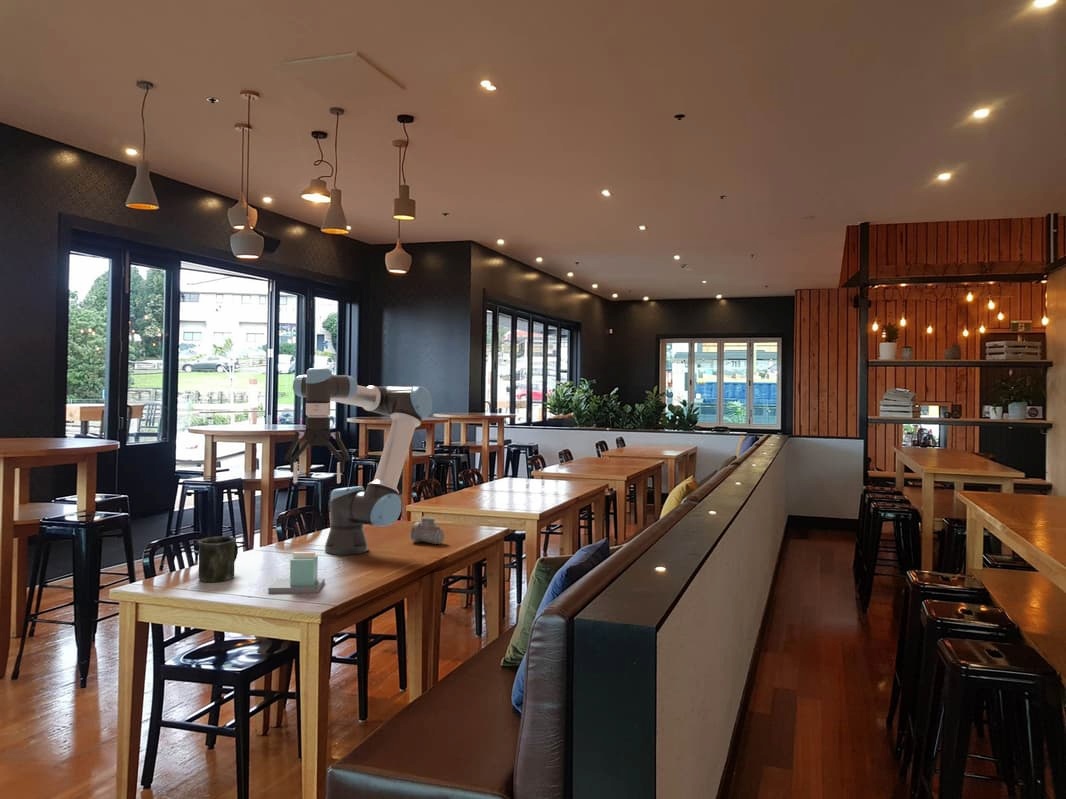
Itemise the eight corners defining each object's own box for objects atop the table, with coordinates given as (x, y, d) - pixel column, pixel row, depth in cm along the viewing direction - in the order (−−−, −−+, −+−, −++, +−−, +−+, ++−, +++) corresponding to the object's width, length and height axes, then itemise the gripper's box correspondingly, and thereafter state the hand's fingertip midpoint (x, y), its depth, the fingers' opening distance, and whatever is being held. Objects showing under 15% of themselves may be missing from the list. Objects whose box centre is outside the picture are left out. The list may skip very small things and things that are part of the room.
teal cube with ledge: (290, 585, 224) (290, 554, 224) (294, 580, 231) (295, 550, 231) (313, 585, 225) (313, 554, 225) (317, 579, 231) (317, 550, 231)
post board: (277, 583, 232) (277, 561, 232) (324, 583, 234) (324, 561, 234) (268, 593, 221) (268, 570, 221) (317, 592, 223) (318, 570, 223)
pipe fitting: (407, 542, 294) (412, 515, 294) (420, 540, 302) (424, 514, 302) (433, 549, 289) (437, 522, 289) (445, 547, 296) (449, 521, 296)
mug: (188, 581, 233) (189, 542, 233) (221, 570, 247) (221, 533, 247) (219, 584, 230) (219, 544, 230) (250, 573, 244) (250, 535, 244)
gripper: (275, 416, 241) (274, 484, 242) (356, 417, 244) (355, 484, 244) (280, 415, 249) (279, 481, 249) (359, 416, 251) (358, 481, 252)
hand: (317, 482), depth 247 cm, fingers open, 13 cm apart
